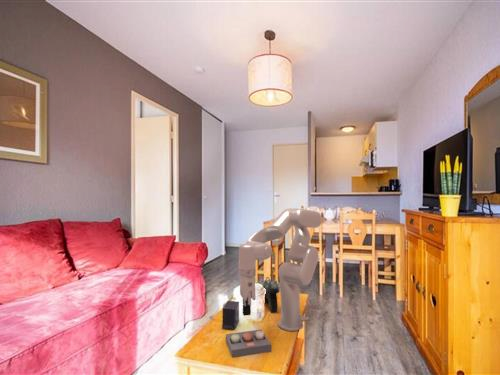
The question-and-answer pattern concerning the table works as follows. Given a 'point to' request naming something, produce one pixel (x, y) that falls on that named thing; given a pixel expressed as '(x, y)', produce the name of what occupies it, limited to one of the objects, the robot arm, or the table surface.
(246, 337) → the terracotta button
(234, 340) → the sage button
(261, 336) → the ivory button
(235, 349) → the button box
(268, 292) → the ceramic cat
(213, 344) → the table surface
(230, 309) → the small box
